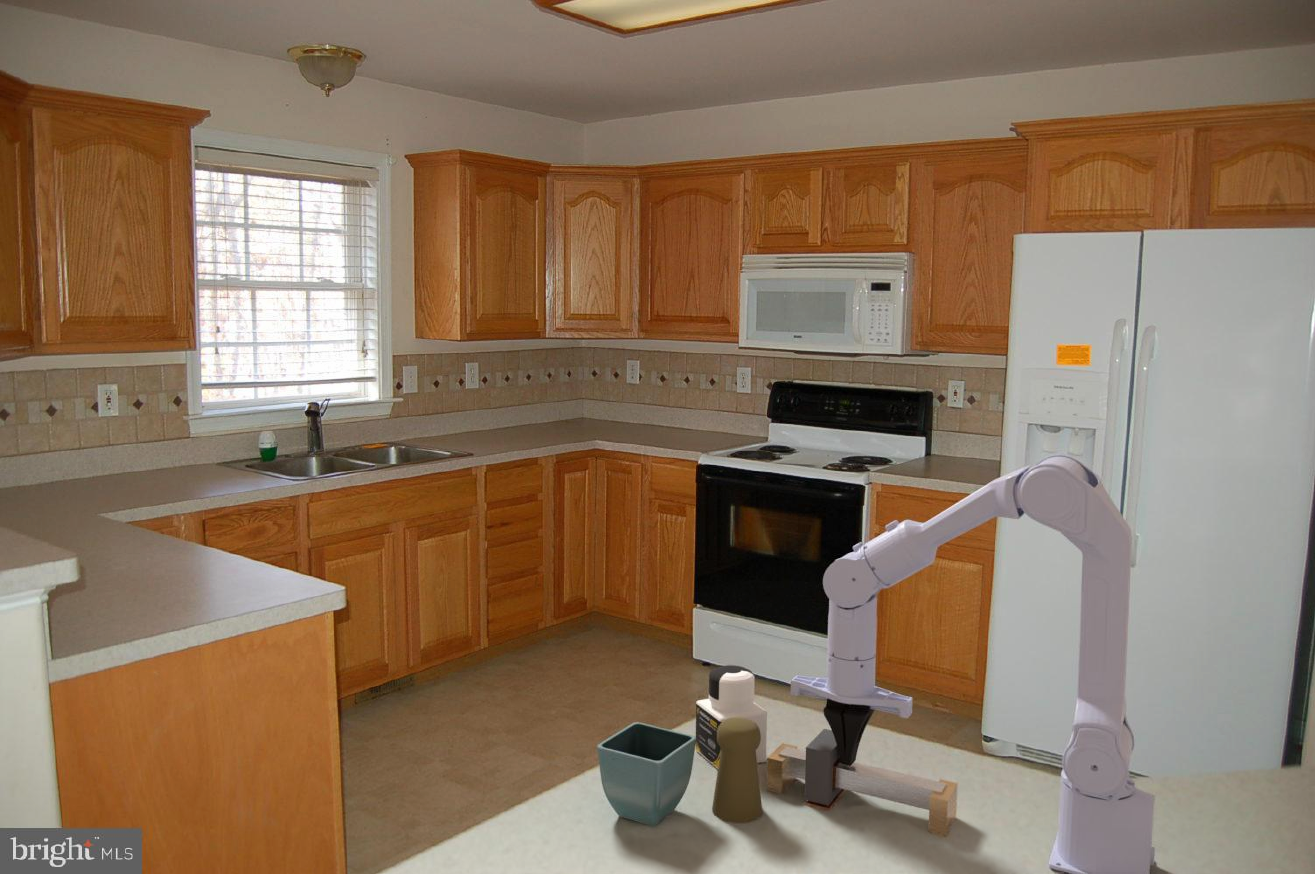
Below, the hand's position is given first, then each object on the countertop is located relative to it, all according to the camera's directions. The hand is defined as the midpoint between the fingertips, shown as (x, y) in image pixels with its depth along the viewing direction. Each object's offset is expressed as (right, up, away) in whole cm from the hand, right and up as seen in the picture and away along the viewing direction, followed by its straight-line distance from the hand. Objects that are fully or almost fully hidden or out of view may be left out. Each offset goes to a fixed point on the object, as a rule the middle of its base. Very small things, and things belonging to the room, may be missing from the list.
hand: (848, 761), depth 118 cm
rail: (+1, -5, 0) cm, 5 cm away
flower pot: (-24, -5, -3) cm, 25 cm away
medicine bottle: (-13, -4, +13) cm, 19 cm away
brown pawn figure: (-14, -5, -2) cm, 15 cm away
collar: (-2, -5, +2) cm, 6 cm away
